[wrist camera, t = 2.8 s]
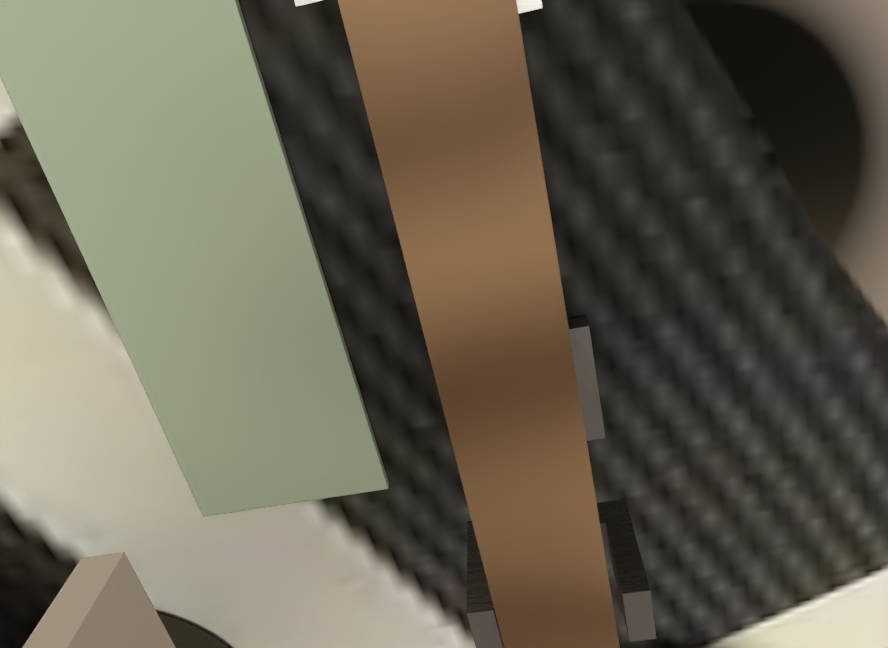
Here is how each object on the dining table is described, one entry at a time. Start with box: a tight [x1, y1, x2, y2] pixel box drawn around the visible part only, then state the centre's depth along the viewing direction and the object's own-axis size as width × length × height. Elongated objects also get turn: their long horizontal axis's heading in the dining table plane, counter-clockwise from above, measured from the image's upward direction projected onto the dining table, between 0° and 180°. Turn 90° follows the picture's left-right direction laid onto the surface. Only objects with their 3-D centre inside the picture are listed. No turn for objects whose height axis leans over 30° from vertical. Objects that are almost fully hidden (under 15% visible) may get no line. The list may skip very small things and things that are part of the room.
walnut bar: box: [338, 0, 620, 648], centre depth 18 cm, size 24×3×5 cm, turn 12°
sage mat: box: [0, 0, 389, 517], centre depth 32 cm, size 28×10×1 cm, turn 12°
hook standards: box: [294, 0, 656, 648], centre depth 24 cm, size 25×6×14 cm, turn 12°
